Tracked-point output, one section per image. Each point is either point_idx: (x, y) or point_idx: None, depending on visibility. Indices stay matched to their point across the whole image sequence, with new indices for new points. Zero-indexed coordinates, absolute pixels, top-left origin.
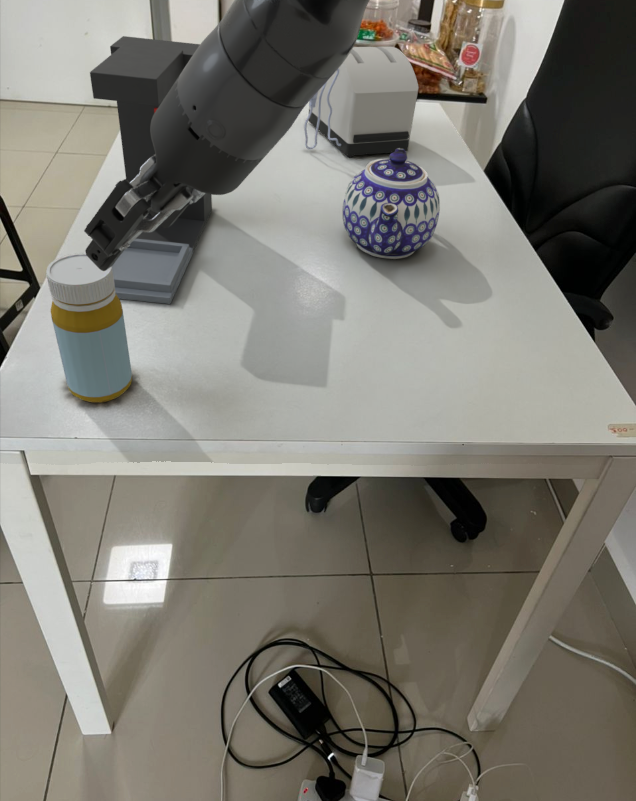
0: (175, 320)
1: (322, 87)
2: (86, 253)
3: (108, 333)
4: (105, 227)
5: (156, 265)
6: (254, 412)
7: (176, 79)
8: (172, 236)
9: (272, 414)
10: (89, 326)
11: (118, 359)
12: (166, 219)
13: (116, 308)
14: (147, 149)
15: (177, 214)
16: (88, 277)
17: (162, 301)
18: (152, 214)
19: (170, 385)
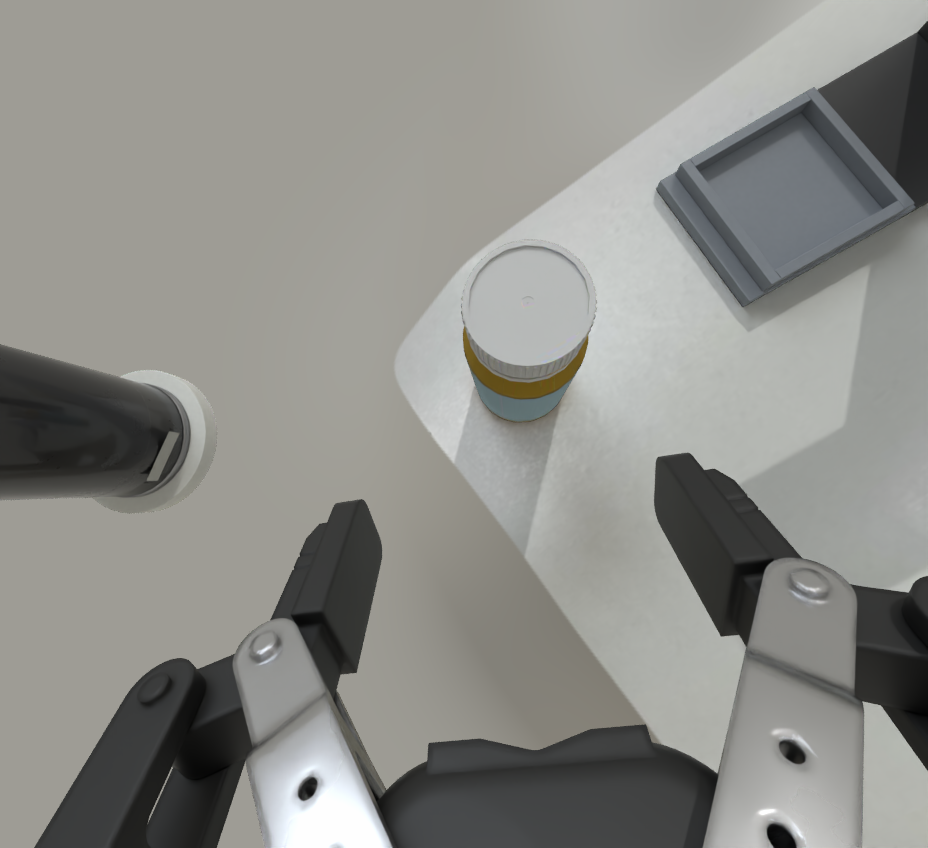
0: (713, 346)
1: None
2: (310, 534)
3: (515, 401)
4: (193, 738)
5: (810, 209)
6: (622, 597)
7: None
8: (917, 151)
9: (637, 623)
10: (487, 384)
11: (525, 412)
12: (670, 523)
13: (550, 385)
14: None
15: (693, 581)
16: (518, 340)
17: (736, 294)
18: (658, 467)
19: (584, 455)
